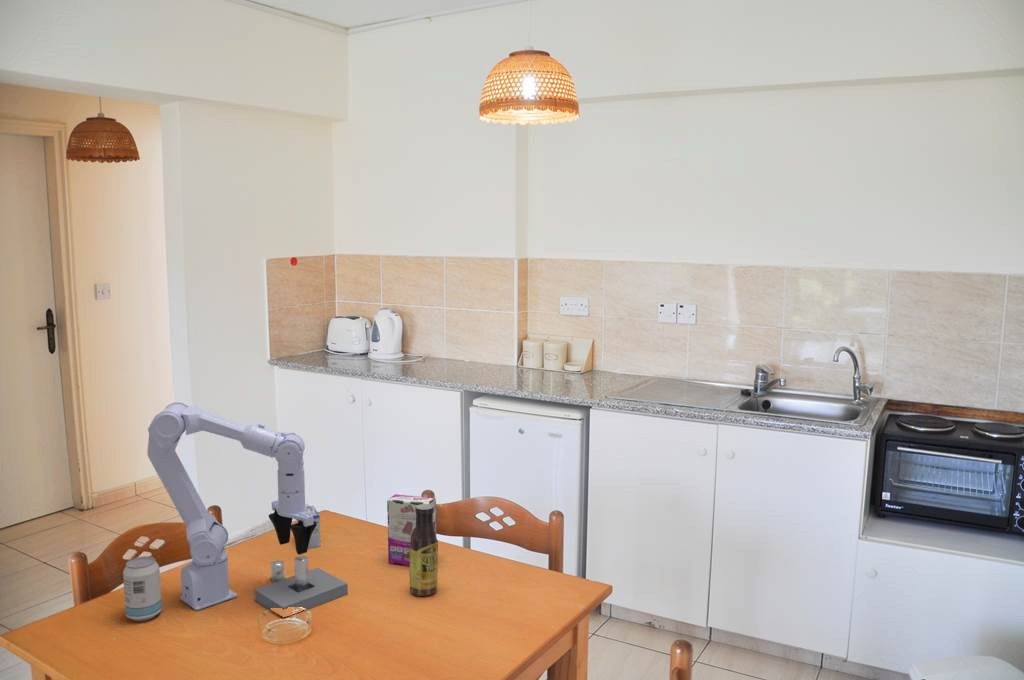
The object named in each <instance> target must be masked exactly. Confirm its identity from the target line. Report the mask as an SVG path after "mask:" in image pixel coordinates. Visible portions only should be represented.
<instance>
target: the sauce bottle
mask: <svg viewBox="0 0 1024 680" xmlns="http://www.w3.org/2000/svg"><path fill="white" fill-rule="evenodd" d="M415 512H416V527H415V529H414V531H413V532H412V534H411V546H410V566H409V586H410V588H409V591H410V593H411V594H413V595H414V596H416V597H417V596H418V597H425V596H427V597H428V596H431V595H433V594H434V593H435V592H436V591H437V588H438V573H439V572H438V567H439V566H438V565H439V562H438V561H439V559H438V558H439V553H438V552H439V540H438V538H437V534H436V535H435V531H434V527H433V512H434V507H433V506H432V505H430V504H420V505H417V506H416V508H415Z"/></svg>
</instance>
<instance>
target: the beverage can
mask: <svg viewBox="0 0 1024 680" xmlns="http://www.w3.org/2000/svg"><path fill="white" fill-rule="evenodd" d="M125 564H126V565H125V567H124V570H123V571H122V577H123V590H124V591H123V592H124V595H123V596H124V607H125V609H124V610H125V616H126V618H128V619H131V620H132V621H134V622H145V621H149V620H152V619H153V618H155V617H156V616H157V615H158V614H159V613H160V612H161V611H162V609H163V605H162V589H161V573H160V571H161V570H160V565H159V564H158V562H157V561H156V558H155V557H153V556H146V555H145V556H139V557H134V558H131V559H130V560H128V561H127V562H126V563H125Z"/></svg>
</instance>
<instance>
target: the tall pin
mask: <svg viewBox="0 0 1024 680" xmlns="http://www.w3.org/2000/svg"><path fill="white" fill-rule="evenodd" d="M293 561H294V562H293V563H294V564H293V565H294V567H293V569H294V576H295V591H296V592H298V593H299V592H302V591H304V590H307V589H309V571H310V569H309V556H307V555H298V556H295V557H294V558H293Z"/></svg>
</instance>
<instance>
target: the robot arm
mask: <svg viewBox="0 0 1024 680" xmlns="http://www.w3.org/2000/svg"><path fill="white" fill-rule="evenodd" d="M147 432H148V441H147V450H146V451H147V454H146V455H147V456H148V459H149V461H150V462H151V465H152V466H153V468H154V470H155V472H156V474H157V476H158V478H159V480H160V482H161V483H162V484H163V487H164V488H165V490H166V492H167V494H168V496H169V498H170V499H171V501H172V503H173V505H174V507H175V509H176V511H177V512H178V514H179V517H180V518H181V520H182V521H183V524H184V525H185V528H186V529H185V530H186V540H187V543H188V544H189V547H190V548H189V552H190V557H191V559H192V561H191V562H189V564H186V565H185V566H182V567H181V569H180V583H181V584H180V585H181V586H180V587H181V596H180V600H181V601H182V602H184V603H185V604H187V605H188V606H189V607H191V608H192V609H193V610H195V611H199V610H202V609H205V608H208V607H211V606H215V605H216V604H219V603H222V602H225V601H227V600H228V601H229V600H231V599H235V598H236V597H238V594H237V593H236V592H235V591H233V590H231V589H230V579H229V578H230V577H229V576H230V575H229V573H230V572H229V558H228V557H229V556H228V552H227V551H226V549H225V545H226V544H227V542H228V541H229V532H228V529H227V528H226V527H225V526H224V524H223V525H222V524H221V523H220V522H219V521H218V520H217V518H216V516H215V515H214V514H212V513H210V512H209V511H208V509H207V507H206V505H205V503H204V502H203V500H202V498H201V496H200V494H199V493H198V491H197V489H196V487H195V485H194V483H193V481H192V479H191V478H190V476H189V474H188V472H187V470H186V468H185V466H184V464H183V463H182V461H181V459H180V457H179V455H178V453H177V452H176V449H177V446H178V444H179V442H180V440H181V437H182V435H183V434H184V432H185V435H186V436H188V435H192V434H195V433H199V432H206V433H211V434H215V435H216V436H217V435H218V436H221V437H224V438H228V439H230V440H231V439H232V440H236V441H239V442H240V444H241V445H242V448H243V449H245V450H248V451H251V452H253V453H256V454H259V455H262V456H266V457H269V458H275V460H276V461H277V467H278V469H277V496H278V497H277V500H274V501H273V500H272V501H271V511H274V512H273V513H270V514H268V518H269V520H270V521H271V524H272V525H273V527H274V530H275V532H276V536H277V540H278V543H279V545H281V546H282V545H286V544H288V543H290V540H291V532H292V535H293V538H294V544H295V551H296V554H297V555H298V556H301V555H303V554H306V553H308V549H309V548H308V545H309V541H310V538H311V535H312V533H313V531H314V529H315V527H316V525H317V523H316V522H315V521H313V516H312V515H311V514H310V513H309V511H308V510H307V509H309V508H310V506H311V505H309V504H308V503H306V491H305V489H306V488H305V487H306V485H305V483H306V481H305V467H304V465H305V464H304V463H305V461H304V457H303V456H304V452H305V441H304V440H303V438H302V437H301V436H300V435H298V434H296V433H295V432H286V431H284V430H282V431H277V430H274V429H272V428H269V427H266V424H265V423H264V422H263V423H262V422H259V423H258V424H257V423H251V424H249V425H246V426H245V425H242V424H240V423H238V422H235V421H232V420H230V419H227V418H224V417H223V416H219V415H217V414H214V413H212V412H209V411H207V410H204V409H202V408H200V407H197V406H196V405H190V404H189V405H188V404H186V403H185V402H180V401H176V402H175V401H174V402H172V403H170V404H168V405H167V406H165V408H164V409H163V410H161V411H160V412H159V413H157V414H156V415H155V416H154V417H153V419H152V421H151V423H150V424H149V426H148V428H147ZM293 519H294V520H296V521H297V523H293V524H292V522H293Z"/></svg>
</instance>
